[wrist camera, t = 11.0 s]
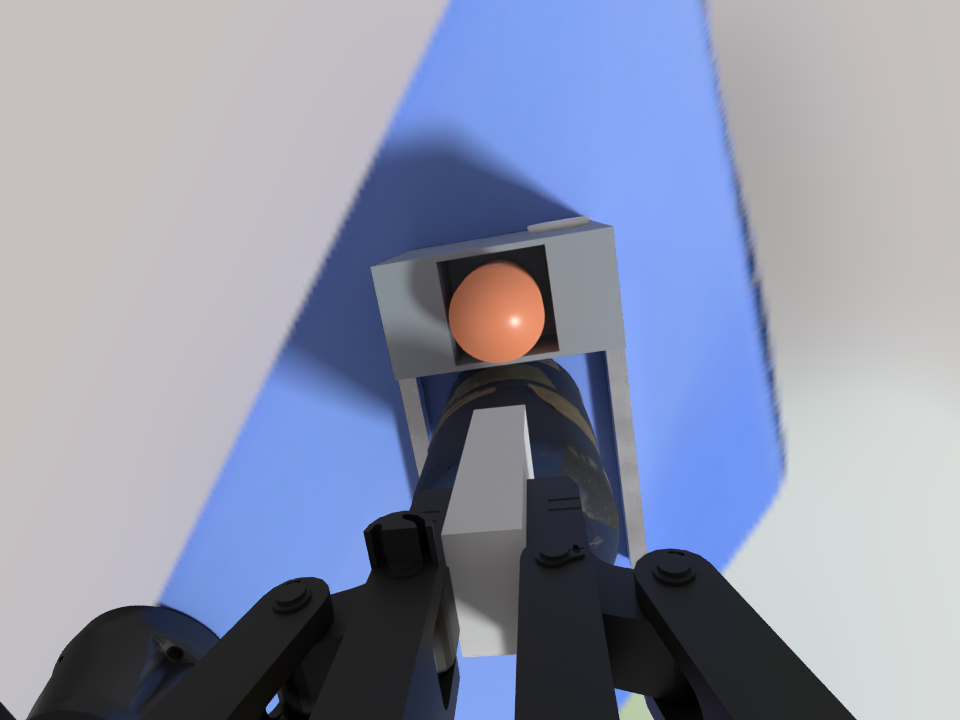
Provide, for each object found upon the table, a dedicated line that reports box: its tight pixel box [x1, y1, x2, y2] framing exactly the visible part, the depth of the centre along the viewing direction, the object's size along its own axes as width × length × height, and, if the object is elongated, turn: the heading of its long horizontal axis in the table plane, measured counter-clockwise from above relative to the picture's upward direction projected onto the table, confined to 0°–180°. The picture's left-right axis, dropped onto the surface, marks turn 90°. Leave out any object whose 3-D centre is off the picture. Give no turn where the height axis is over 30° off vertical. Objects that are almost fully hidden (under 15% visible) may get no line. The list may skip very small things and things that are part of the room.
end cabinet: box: [370, 216, 626, 380], centre depth 34 cm, size 12×6×10 cm, turn 100°
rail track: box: [398, 348, 647, 569], centre depth 41 cm, size 15×20×2 cm
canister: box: [412, 358, 620, 565], centre depth 32 cm, size 10×10×18 cm
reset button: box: [449, 259, 545, 363], centre depth 29 cm, size 4×4×4 cm
